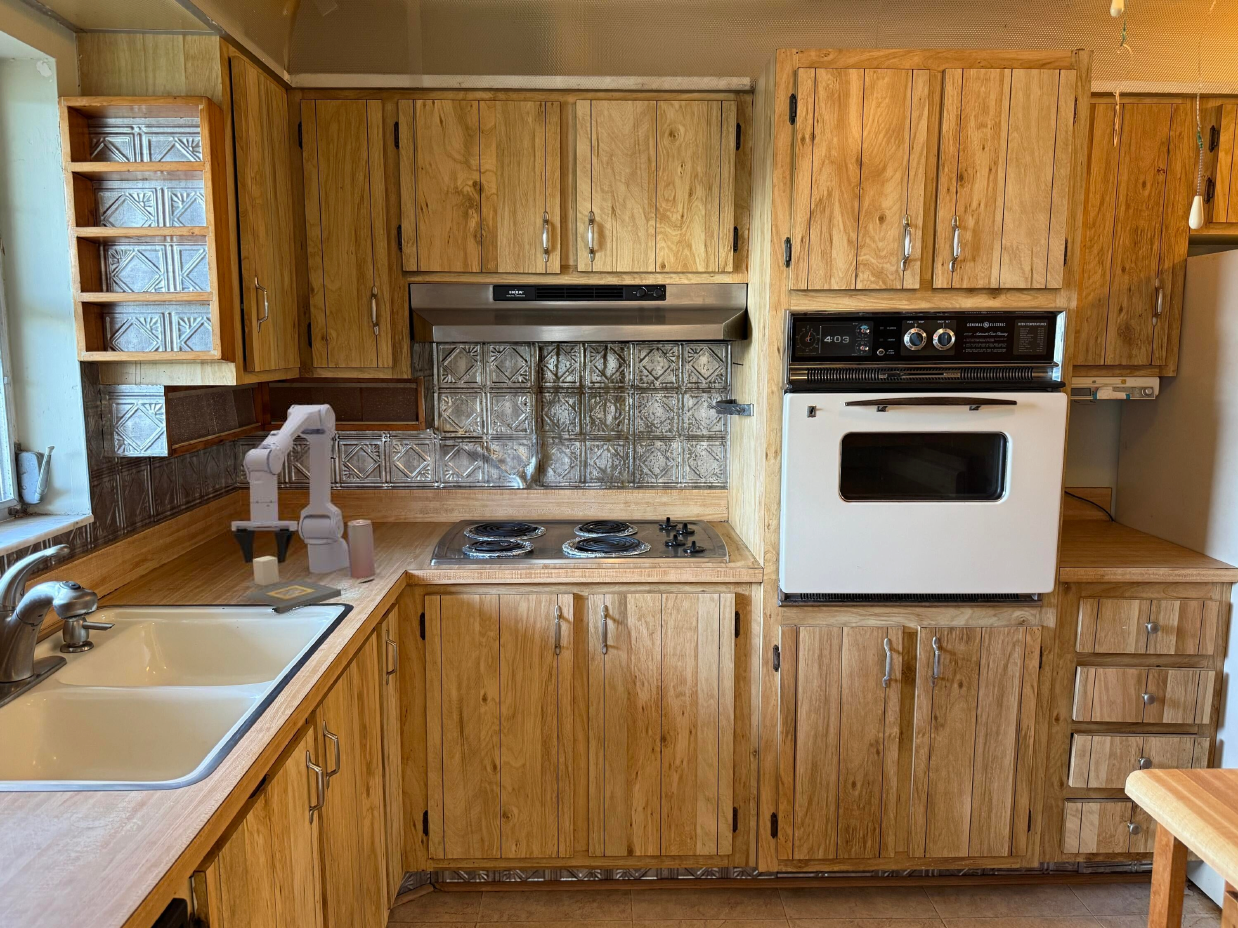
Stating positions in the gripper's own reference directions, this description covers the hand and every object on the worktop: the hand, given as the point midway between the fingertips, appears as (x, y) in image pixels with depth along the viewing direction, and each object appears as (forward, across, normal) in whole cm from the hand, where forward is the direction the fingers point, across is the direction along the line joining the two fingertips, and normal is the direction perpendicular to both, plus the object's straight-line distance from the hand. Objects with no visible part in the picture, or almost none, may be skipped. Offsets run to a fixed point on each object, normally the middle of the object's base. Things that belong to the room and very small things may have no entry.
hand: (265, 562), depth 195 cm
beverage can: (+8, +13, +24) cm, 28 cm away
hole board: (+10, +2, +9) cm, 13 cm away
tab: (+9, -8, +17) cm, 21 cm away
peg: (+7, -8, +17) cm, 20 cm away
